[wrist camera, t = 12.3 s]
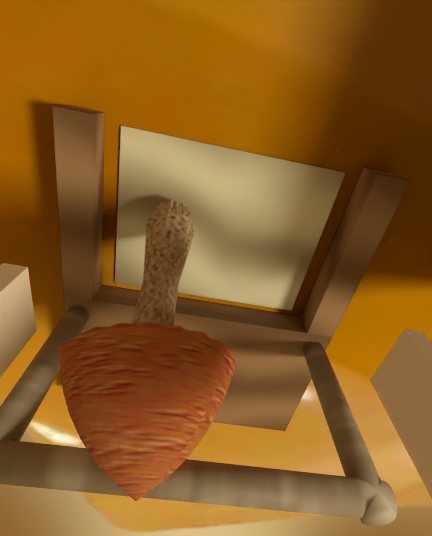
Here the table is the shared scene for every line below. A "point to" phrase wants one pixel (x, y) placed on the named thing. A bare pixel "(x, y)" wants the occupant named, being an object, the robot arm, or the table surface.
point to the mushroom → (147, 372)
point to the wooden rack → (215, 306)
